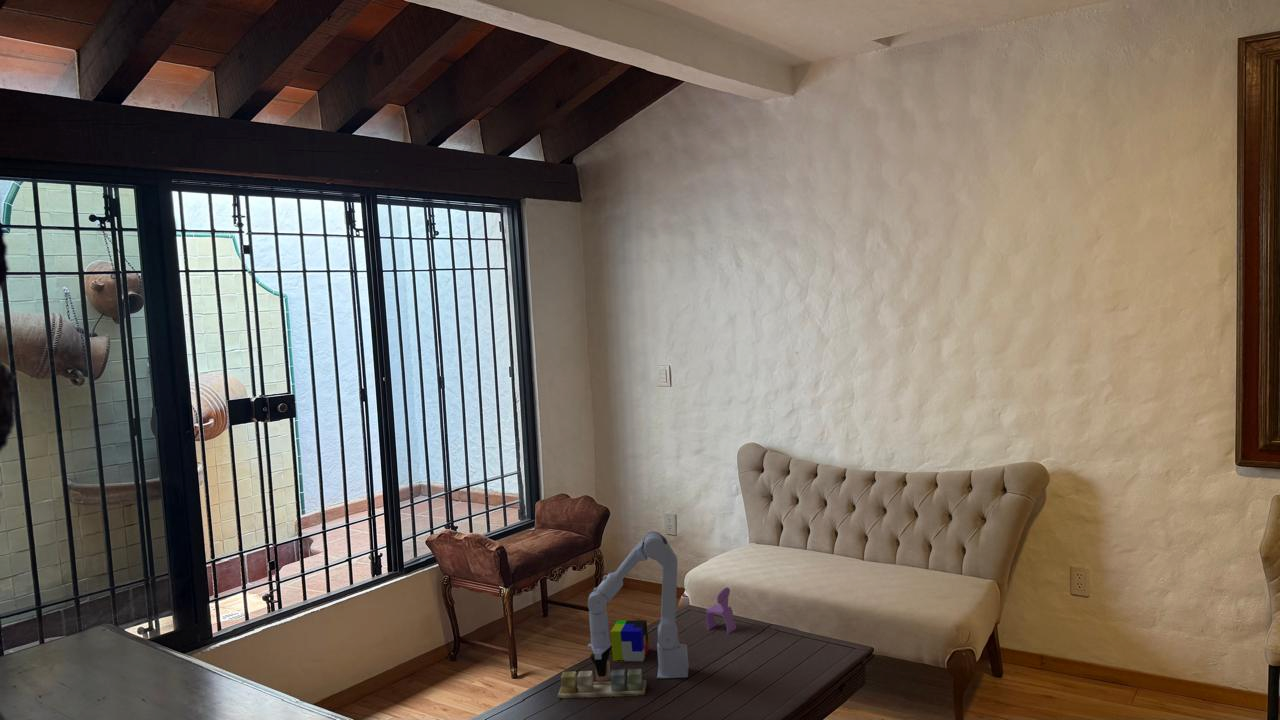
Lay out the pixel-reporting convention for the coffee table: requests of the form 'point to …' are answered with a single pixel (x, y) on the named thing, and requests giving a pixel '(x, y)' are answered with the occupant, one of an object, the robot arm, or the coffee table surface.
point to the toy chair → (721, 611)
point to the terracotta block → (607, 676)
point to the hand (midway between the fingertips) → (603, 673)
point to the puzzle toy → (629, 640)
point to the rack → (602, 684)
